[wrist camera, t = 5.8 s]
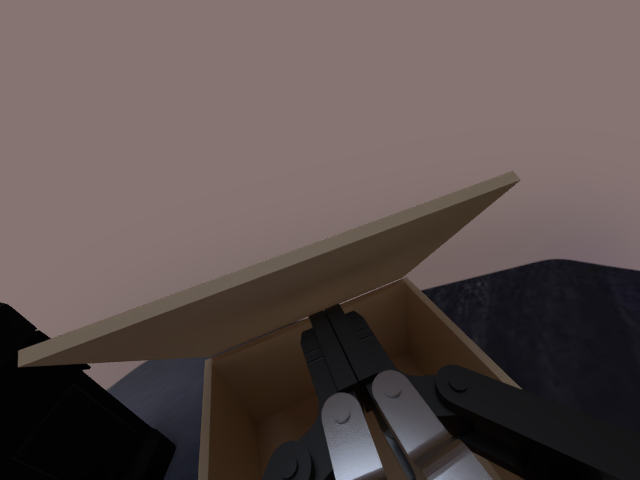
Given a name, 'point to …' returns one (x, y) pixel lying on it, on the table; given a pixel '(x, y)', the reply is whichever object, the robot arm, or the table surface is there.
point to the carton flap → (272, 288)
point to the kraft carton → (298, 390)
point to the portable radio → (67, 420)
